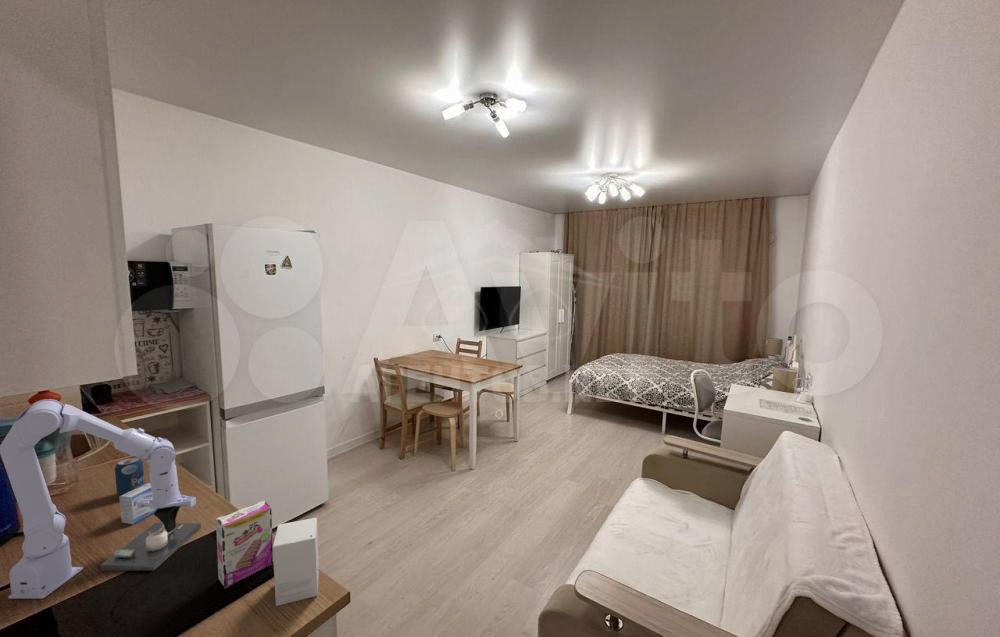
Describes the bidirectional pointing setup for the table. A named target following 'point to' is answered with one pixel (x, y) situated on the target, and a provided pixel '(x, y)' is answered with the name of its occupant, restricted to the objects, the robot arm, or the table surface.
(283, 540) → the supplement box
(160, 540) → the white long bulbous piece
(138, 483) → the soda can
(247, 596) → the table surface
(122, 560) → the base plate
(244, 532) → the candy bar box
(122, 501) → the medicine box
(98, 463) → the table surface
